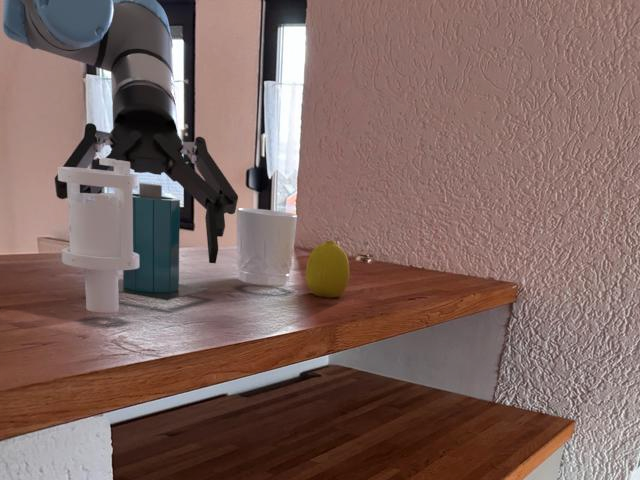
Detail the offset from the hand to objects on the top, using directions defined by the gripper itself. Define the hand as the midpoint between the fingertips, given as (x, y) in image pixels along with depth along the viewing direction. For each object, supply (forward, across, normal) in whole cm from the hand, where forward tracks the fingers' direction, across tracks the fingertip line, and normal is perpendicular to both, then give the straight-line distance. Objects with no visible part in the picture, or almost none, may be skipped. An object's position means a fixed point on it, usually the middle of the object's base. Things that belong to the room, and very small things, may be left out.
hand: (152, 252), depth 82 cm
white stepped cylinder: (+12, +6, +4) cm, 14 cm away
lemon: (+1, -22, -7) cm, 23 cm away
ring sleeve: (+2, 0, -4) cm, 5 cm away
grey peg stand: (+2, 0, -5) cm, 6 cm away
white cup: (-4, -15, -13) cm, 20 cm away
